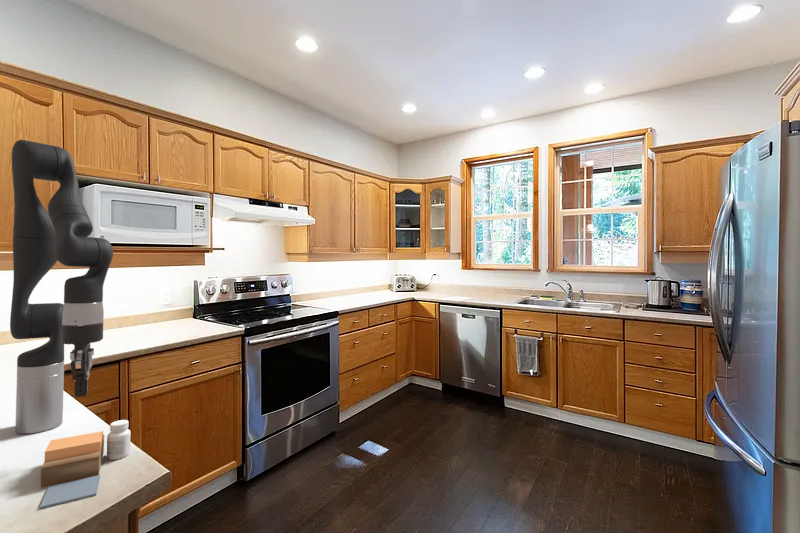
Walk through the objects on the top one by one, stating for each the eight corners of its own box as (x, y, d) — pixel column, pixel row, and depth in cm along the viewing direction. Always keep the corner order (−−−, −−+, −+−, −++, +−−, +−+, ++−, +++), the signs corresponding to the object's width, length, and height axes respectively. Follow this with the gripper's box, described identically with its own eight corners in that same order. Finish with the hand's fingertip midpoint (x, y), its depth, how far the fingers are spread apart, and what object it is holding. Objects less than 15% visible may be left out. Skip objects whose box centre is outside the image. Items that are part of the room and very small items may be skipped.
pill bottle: (117, 450, 90) (118, 418, 90) (134, 451, 90) (135, 419, 90) (101, 459, 86) (102, 425, 86) (119, 461, 86) (120, 427, 86)
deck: (53, 461, 85) (53, 443, 85) (103, 451, 90) (104, 434, 90) (40, 488, 75) (41, 468, 75) (98, 475, 80) (99, 456, 80)
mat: (48, 488, 75) (48, 486, 75) (100, 476, 79) (100, 474, 79) (39, 509, 69) (39, 506, 69) (96, 495, 73) (96, 493, 73)
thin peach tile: (50, 449, 82) (50, 440, 82) (103, 439, 87) (103, 431, 87) (44, 461, 77) (44, 451, 77) (100, 450, 82) (100, 441, 82)
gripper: (67, 319, 92) (65, 390, 92) (56, 326, 81) (53, 407, 81) (106, 317, 96) (104, 385, 96) (100, 324, 85) (98, 401, 85)
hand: (81, 395), depth 89 cm, fingers closed
